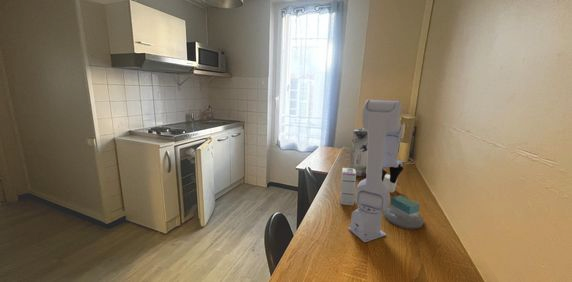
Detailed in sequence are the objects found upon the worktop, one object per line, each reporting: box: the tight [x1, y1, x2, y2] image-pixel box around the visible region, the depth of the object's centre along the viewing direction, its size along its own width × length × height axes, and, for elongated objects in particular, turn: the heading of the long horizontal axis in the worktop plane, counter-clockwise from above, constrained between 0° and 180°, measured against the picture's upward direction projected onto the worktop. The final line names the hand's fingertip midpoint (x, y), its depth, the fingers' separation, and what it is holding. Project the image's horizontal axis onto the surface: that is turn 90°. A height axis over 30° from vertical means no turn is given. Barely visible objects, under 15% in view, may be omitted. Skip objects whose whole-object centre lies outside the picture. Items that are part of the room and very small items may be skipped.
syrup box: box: [339, 167, 357, 206], centre depth 96 cm, size 6×6×14 cm
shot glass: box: [383, 173, 399, 193], centre depth 109 cm, size 7×7×7 cm
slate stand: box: [383, 206, 425, 230], centre depth 85 cm, size 13×13×2 cm
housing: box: [389, 194, 420, 222], centre depth 84 cm, size 8×5×6 cm, turn 24°
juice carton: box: [349, 127, 368, 177], centre depth 128 cm, size 9×10×27 cm
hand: (386, 183), depth 94 cm, fingers open, 7 cm apart
